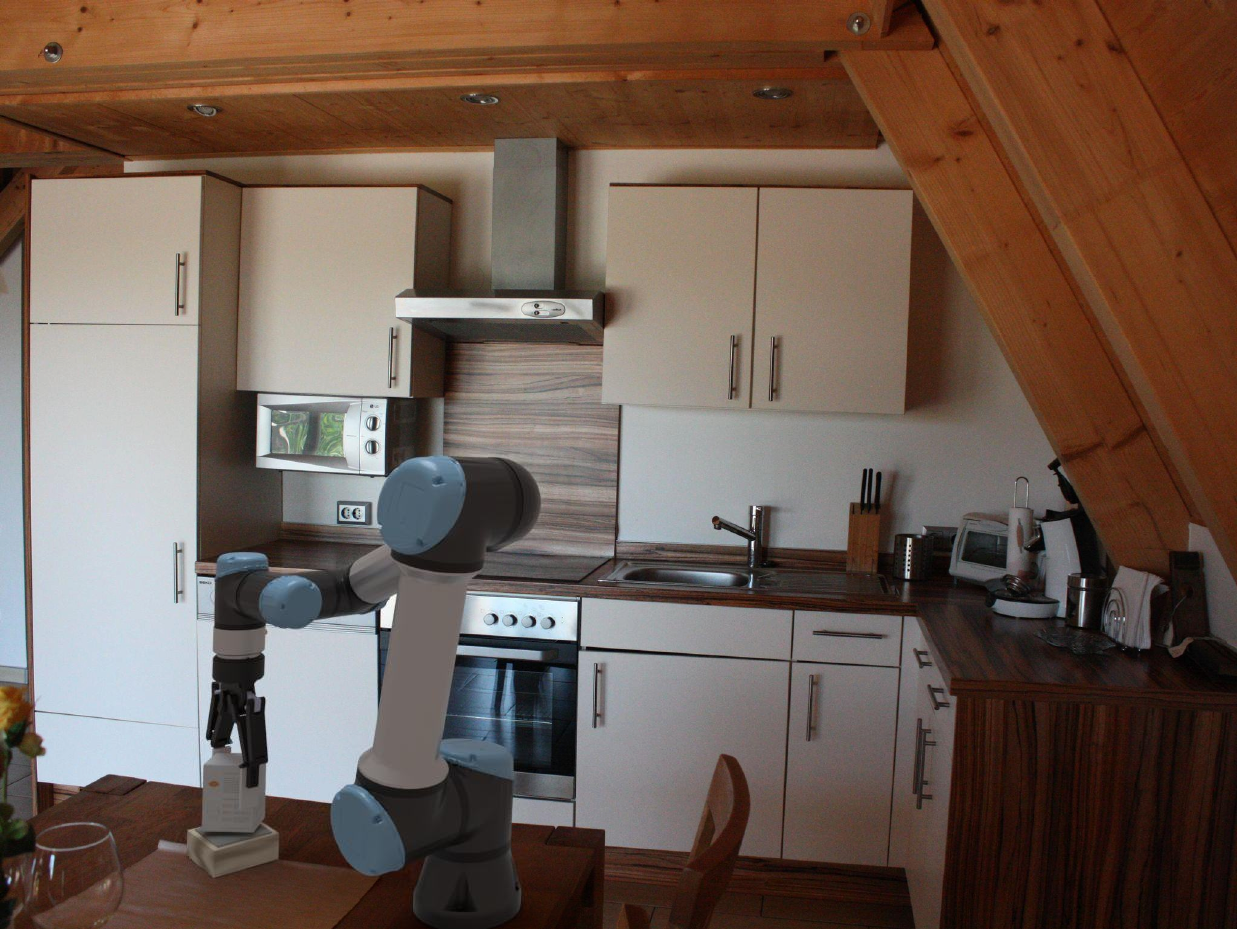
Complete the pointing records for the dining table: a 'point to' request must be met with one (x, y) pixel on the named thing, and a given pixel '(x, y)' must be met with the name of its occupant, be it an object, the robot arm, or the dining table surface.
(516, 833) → the dining table surface
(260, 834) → the birch stand
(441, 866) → the robot arm
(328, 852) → the dining table surface
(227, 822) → the small box
